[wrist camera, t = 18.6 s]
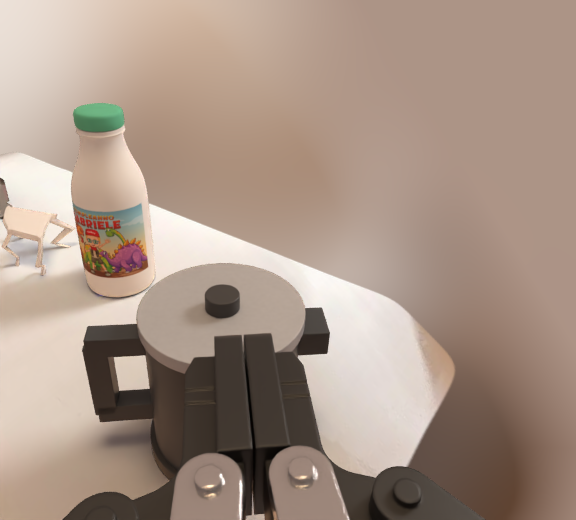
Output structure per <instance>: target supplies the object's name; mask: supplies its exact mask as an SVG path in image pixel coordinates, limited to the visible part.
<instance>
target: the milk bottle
mask: <svg viewBox="0 0 576 520" xmlns="http://www.w3.org/2000/svg"><path fill="white" fill-rule="evenodd" d="M73 116H74V122H75V126H76V132H77V134H79V136H80V148H79V154H78V158H77V161H76V165H75V168H74V171H73V175H72V181H71V195H72V202H73V210H74V216H75V221H76V227H77V233H78V238H79V244H80V249H81V255H82V260H83V265H84V270H85V276H86V280H87V284H88V285H89V287H90V288H91V289H92V290H93V291H94V292H95V293H98V294H99V295H103V296H108V297H125V296H130V295H133V294H136V293H139V292H141V291H143V290H144V289H146V288H148V287H149V286H150V285H151V283H152V282H153V280H154V278H155V273H156V272H155V259H154V249H153V239H152V229H151V220H150V211H149V203H148V196H147V190H146V184H145V180H144V177H143V175H142V173H141V170H140V168H139V166H138V165H137V163H136V162H135V160H134V158H133V157H132V155H131V153H130V151H129V149H128V147H127V145H126V143H125V140H124V136H123V132H124V131H125V127H124V114H123V110H122V109H121V108H120V107H119V106H117V105H113V104H106V103H95V104H87V105H83V106H80V107H77V108H76V109H75V110H74V113H73Z"/></svg>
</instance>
